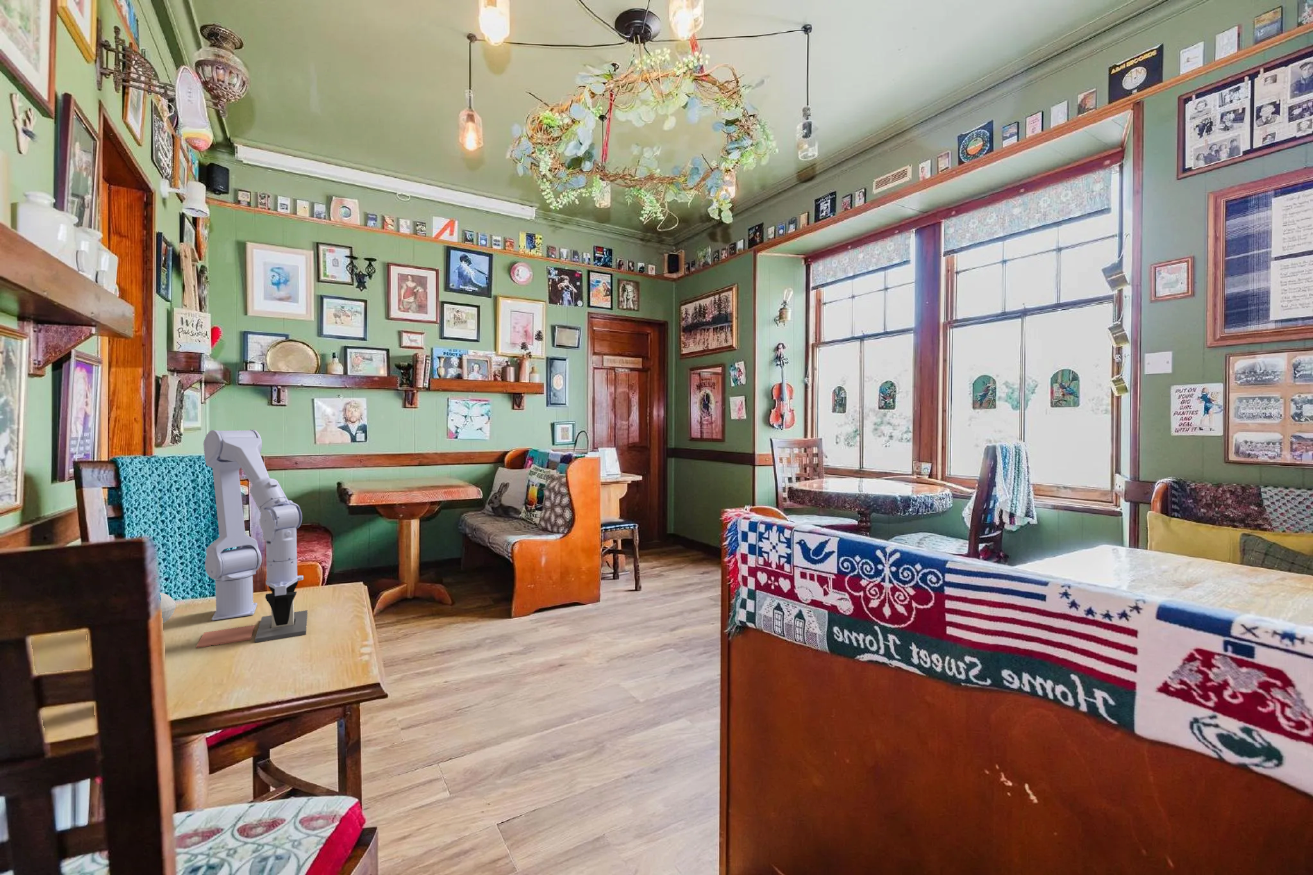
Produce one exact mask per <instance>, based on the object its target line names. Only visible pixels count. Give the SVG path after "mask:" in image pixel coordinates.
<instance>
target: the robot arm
mask: <svg viewBox="0 0 1313 875" xmlns="http://www.w3.org/2000/svg"><path fill="white" fill-rule="evenodd" d="M262 448H263V440H262V437H261V435H260V433H259V432H258V431H257V430H256V429H249V430H247V429H246V430H239V429H237V430H217V429H211V430H209V432H208V433H206V435H205V438H204V439H203V454H204V455H203V456H204V460H205V465H206V466H207V467H210V468H212V475H213V486H214V494H215V505H216V514H217V515H216V516H217V524H218V525H217V526H218V535H219V537H217V539H215V540H214V541H213V542H212V543H211V544H210V545H208V546H207V548H206V550H205V552H206V553H205V554H206V555H205V556H206V558H205V562H204V569H205V572H206V574H207V576H208V577H209V578H211V579H212V580H215V582H214V583H215V612H214V614H213V615H212V618H211V620H212V621H219V620H225V619H231V618H240V617H246V616H253V615H254V614H255V612H256V609H257V607H258V602H254V582H253V580H254V577H253V575H256V574H257V571H258V570H259V569H260V567H261V565H262V561H263V560H262V559H263V556H262V553H261V551H260V548H259V545H258V540H257V539H255V538H253V537H252V536H249V535H247V534H246V528H245V526H246V525H245V518H244V509H243V508H244V506H243V498H242V490H241V480H240V479H241V478H240V469H241V470H242V471H243V473H244V474H245V475H246V477H247V479H248V480H249V482H250V483H251V484H252V485H251V487H250V489H249V493H250V494H251V497H252V500H254V503H255V505H256V506H257V508H258V510H259V512H260V516H259V525H260V528H261V531H262V538H263V541H265V544H266V545H265V552H266V555H265V557H266V558H265V559H266V562H265V563H266V580H265V585H266V586H268V589H269V591H270V592H271V593H266V594H265V595H264V596H265V597H264V598H265V600H266V601H267V603H268V605H269V606H270V608H271V609H272V612H273V616H274V620H275V623H276V626H279V625H285V624H288V621H289V616H290V609H291V605H292V602H293V599H294V600H295V597H296V595H297V592H298V591H295V590H296V589H297V586H298V584H299V581H303V580H304V575H298V552H297V551H298V548H297V547H298V545H297V539H298V538H297V535H298V534H297V529H299V528H300V527H301V525H302V521H303V513H302V510H301V507H300V505H299V504H297V503H295V502H293V500H290V499H288V497H287V496H286V493H285V492H284V490H283V488H282V487H281V486H282V485H281V484H280V483H279V481H278V480H277V479H275V478H270V475H269V473H268V471H267V468H266V466H265V463H264V460H263V457H262V456H261V453H262ZM237 547H239V548H237ZM231 548H233V549H231ZM226 549H227V550H226ZM271 609H270V610H271Z"/></svg>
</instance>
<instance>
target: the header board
mask: <svg viewBox="0 0 1313 875" xmlns="http://www.w3.org/2000/svg"><path fill="white" fill-rule="evenodd" d="M307 623H308V610H307V609H306V610H299V611H294V625H289V626H283V627H276V628H272V618H271V615H265V616H261V618H260V622H259V625H258V629H257V631H256V635H255V638H254V643H261V642H267V641H266V640H268V641H273V640H280V639H287V638H291V637H298V636H305V635H307V627H306V626H308V624H307Z"/></svg>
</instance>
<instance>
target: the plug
mask: <svg viewBox="0 0 1313 875" xmlns="http://www.w3.org/2000/svg"><path fill="white" fill-rule="evenodd" d="M294 600H295V598H294V599H293V602H292V605H291V609H290V616H289V621H288V624H285V625H279V626H276V623H275V620H274V616H273V612H272V609H270V610H271V612H270V613H271V618H272V626H271V628H276V627H283V626H289V625H295V622H294V612H295V606H294V604H295V603H294V602H295V601H294Z"/></svg>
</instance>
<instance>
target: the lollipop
mask: <svg viewBox="0 0 1313 875" xmlns="http://www.w3.org/2000/svg"><path fill="white" fill-rule="evenodd" d="M159 593H160V595H161V609H162V618H163V623H162V624H164V623H166V622H167V621H169V620H170V619H171V617H172V616H173V615H174V612H175V610H176V609H177V603H176V602H175V600H174V599H173V598H172V597H171V596H170V595H169V594H166V593H163V592H159Z"/></svg>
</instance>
